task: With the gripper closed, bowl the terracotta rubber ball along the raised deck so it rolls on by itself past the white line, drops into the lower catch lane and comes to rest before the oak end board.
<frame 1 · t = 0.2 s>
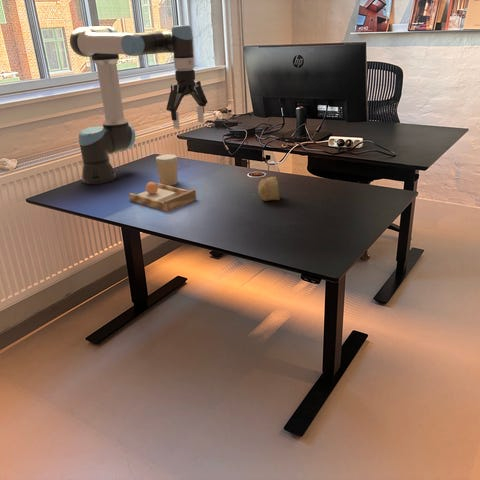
hand: (189, 125, 189), 27 cm above the table, fingers open, 13 cm apart
ball: (151, 188, 193), point 4 cm above the table, touching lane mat
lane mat: (161, 197, 192), in the lane frame
coffee cup: (169, 183, 211), on the table
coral: (269, 199, 188), on the table
lane frame: (162, 200, 191), on the table
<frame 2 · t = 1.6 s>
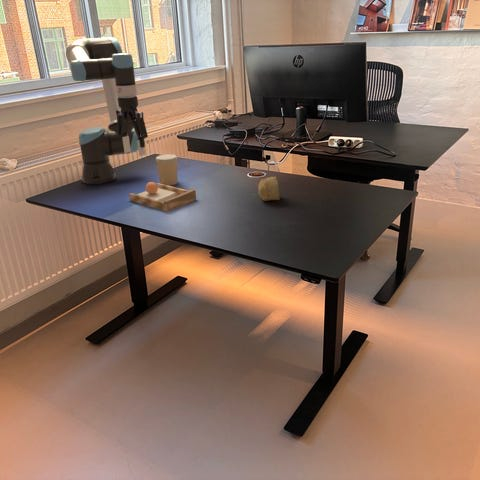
hand: (134, 153, 192), 17 cm above the table, fingers open, 8 cm apart
nothing on the table moved.
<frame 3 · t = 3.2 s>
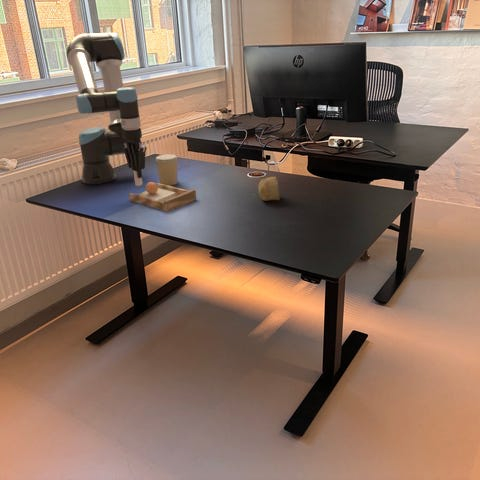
hand: (139, 184, 197), 4 cm above the table, fingers closed
nothing on the table moved.
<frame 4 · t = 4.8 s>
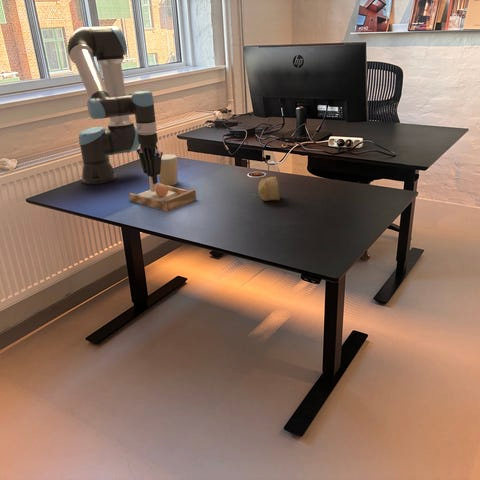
hand: (154, 190, 193), 3 cm above the table, fingers closed
ball: (161, 190, 190), point 4 cm above the table, tilted 134°, touching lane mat
everything else where it was.
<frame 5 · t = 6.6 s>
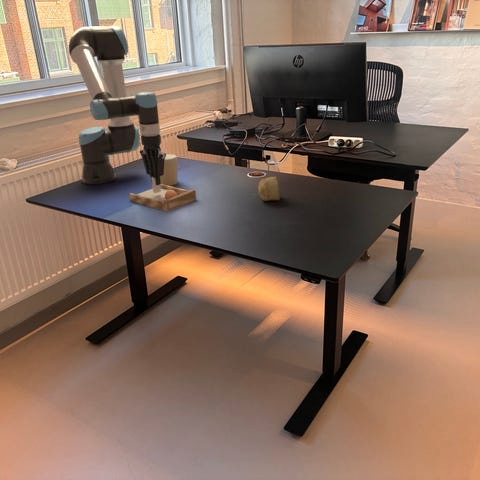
hand: (157, 191, 192), 3 cm above the table, fingers closed
ball: (171, 196, 187), point 3 cm above the table, tilted 92°, touching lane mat
everything else where it was.
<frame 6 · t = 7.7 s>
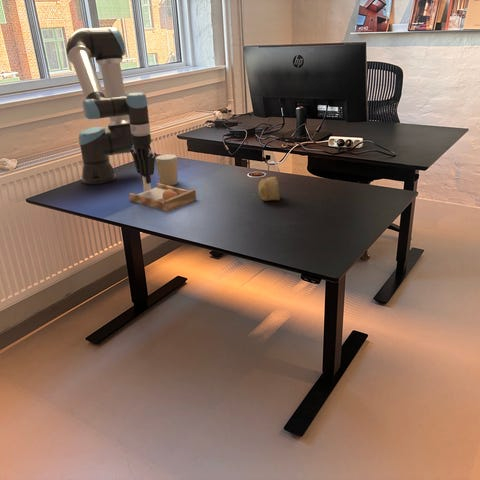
hand: (147, 190, 196), 2 cm above the table, fingers closed
ball: (168, 195, 188), point 3 cm above the table, tilted 119°, touching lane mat
everything else where it was.
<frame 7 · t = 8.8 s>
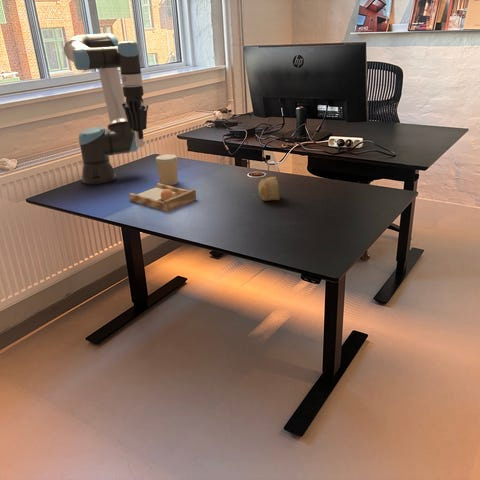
hand: (140, 146, 189), 21 cm above the table, fingers closed
ball: (166, 195, 188), point 3 cm above the table, tilted 143°, touching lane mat
everything else where it was.
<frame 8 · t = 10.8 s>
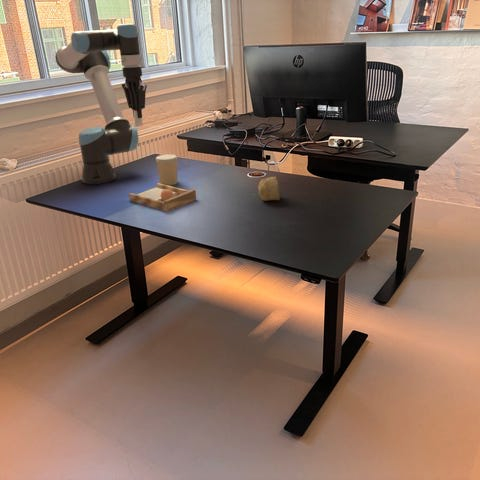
hand: (139, 125, 198), 26 cm above the table, fingers closed
nothing on the table moved.
at the end: ball inside the target area (3.6 cm from its centre), point 2.8 cm above the table; ball moved 9.3 cm from its start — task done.
